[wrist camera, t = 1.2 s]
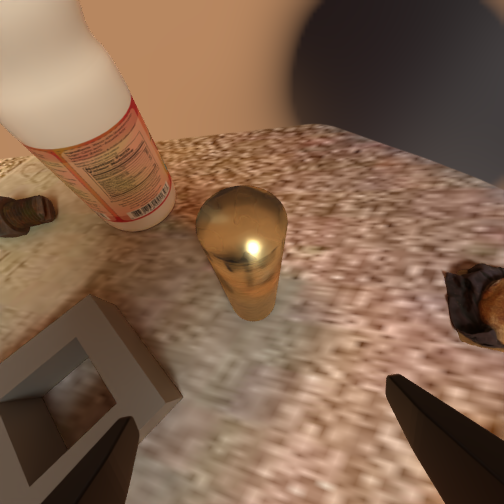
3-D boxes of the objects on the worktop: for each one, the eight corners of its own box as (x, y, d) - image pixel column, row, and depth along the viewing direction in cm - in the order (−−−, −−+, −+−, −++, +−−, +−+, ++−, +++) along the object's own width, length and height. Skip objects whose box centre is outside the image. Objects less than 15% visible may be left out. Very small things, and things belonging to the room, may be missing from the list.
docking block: (183, 397, 20) (165, 403, 17) (58, 528, 17) (3, 570, 13) (115, 305, 24) (89, 294, 21) (3, 397, 21) (-51, 403, 17)
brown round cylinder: (284, 298, 24) (306, 219, 11) (253, 331, 22) (240, 282, 10) (253, 270, 25) (242, 172, 13) (222, 299, 24) (177, 222, 11)
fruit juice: (92, 231, 28) (-1180, -790, 3) (119, 173, 33) (-362, -481, 8) (167, 236, 28) (-771, -1059, 3) (185, 176, 32) (-107, -546, 7)
